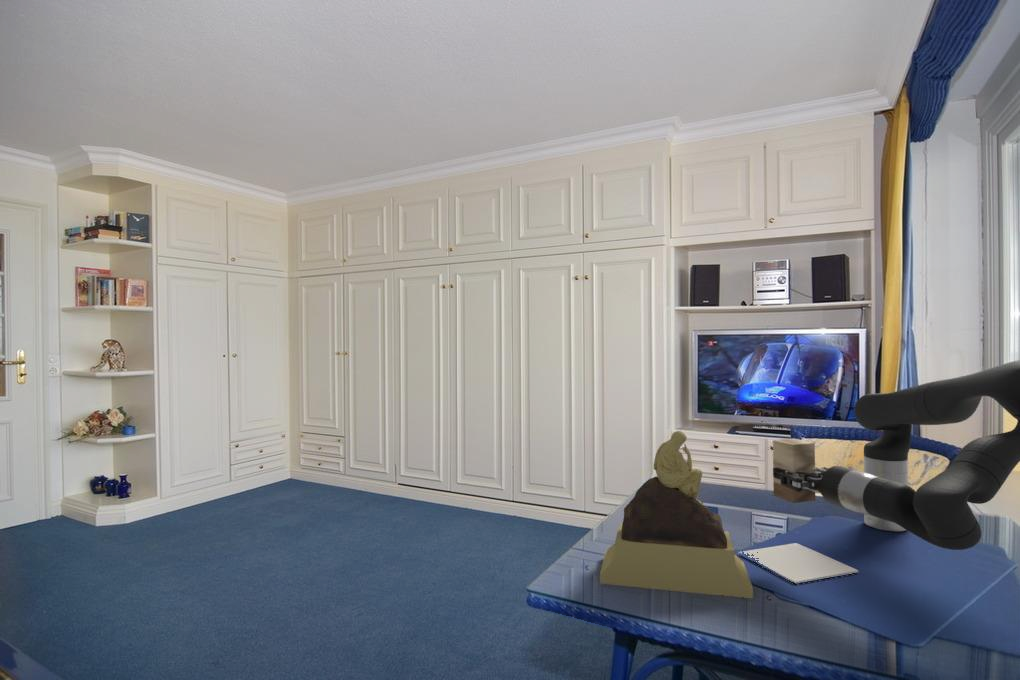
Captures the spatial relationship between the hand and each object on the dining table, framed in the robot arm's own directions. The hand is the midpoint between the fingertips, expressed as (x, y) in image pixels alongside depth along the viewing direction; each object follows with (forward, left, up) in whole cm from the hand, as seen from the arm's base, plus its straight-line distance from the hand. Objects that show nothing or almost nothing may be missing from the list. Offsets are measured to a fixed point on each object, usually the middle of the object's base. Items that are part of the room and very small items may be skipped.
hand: (786, 470), depth 122 cm
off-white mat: (0, +2, -19) cm, 19 cm away
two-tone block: (0, +2, +7) cm, 7 cm away
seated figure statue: (+28, -1, -20) cm, 34 cm away
